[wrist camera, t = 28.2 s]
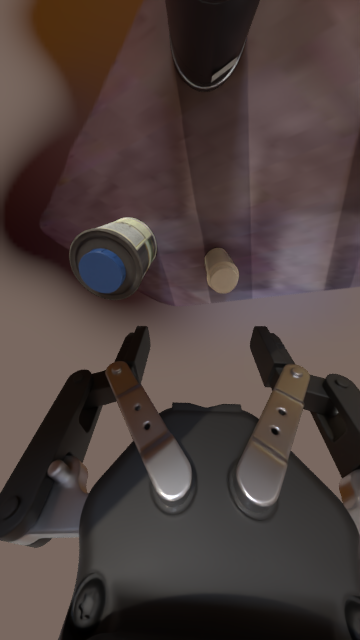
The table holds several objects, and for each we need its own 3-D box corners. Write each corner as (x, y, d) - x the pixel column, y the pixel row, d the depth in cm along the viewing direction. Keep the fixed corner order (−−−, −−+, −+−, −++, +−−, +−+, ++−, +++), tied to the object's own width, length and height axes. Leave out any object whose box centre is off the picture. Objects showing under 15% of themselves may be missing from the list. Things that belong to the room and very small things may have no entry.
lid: (129, 287, 27) (125, 293, 26) (92, 287, 28) (86, 293, 26) (121, 248, 24) (116, 251, 23) (79, 248, 25) (72, 252, 23)
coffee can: (166, 257, 38) (155, 284, 27) (126, 276, 42) (101, 309, 30) (139, 205, 33) (111, 212, 22) (96, 232, 36) (52, 251, 25)
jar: (199, 256, 38) (201, 275, 29) (223, 242, 36) (233, 258, 28) (211, 277, 41) (216, 301, 32) (234, 265, 39) (246, 286, 30)
